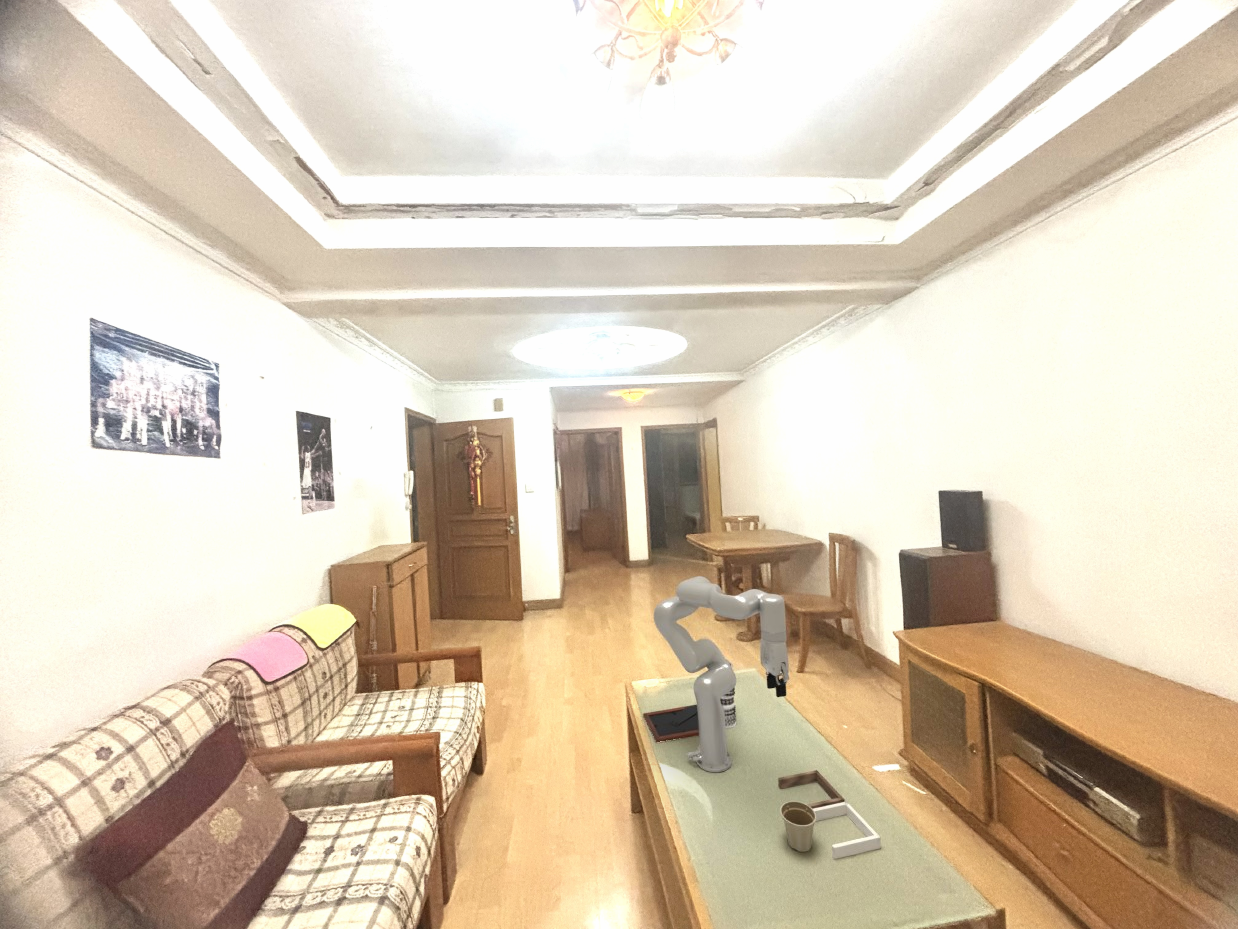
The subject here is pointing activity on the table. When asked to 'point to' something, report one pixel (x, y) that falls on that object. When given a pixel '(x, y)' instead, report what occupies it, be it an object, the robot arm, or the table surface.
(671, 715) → the picture frame
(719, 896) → the table surface
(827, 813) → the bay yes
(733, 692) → the decorative candle
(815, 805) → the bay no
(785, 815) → the flower pot
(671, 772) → the table surface
